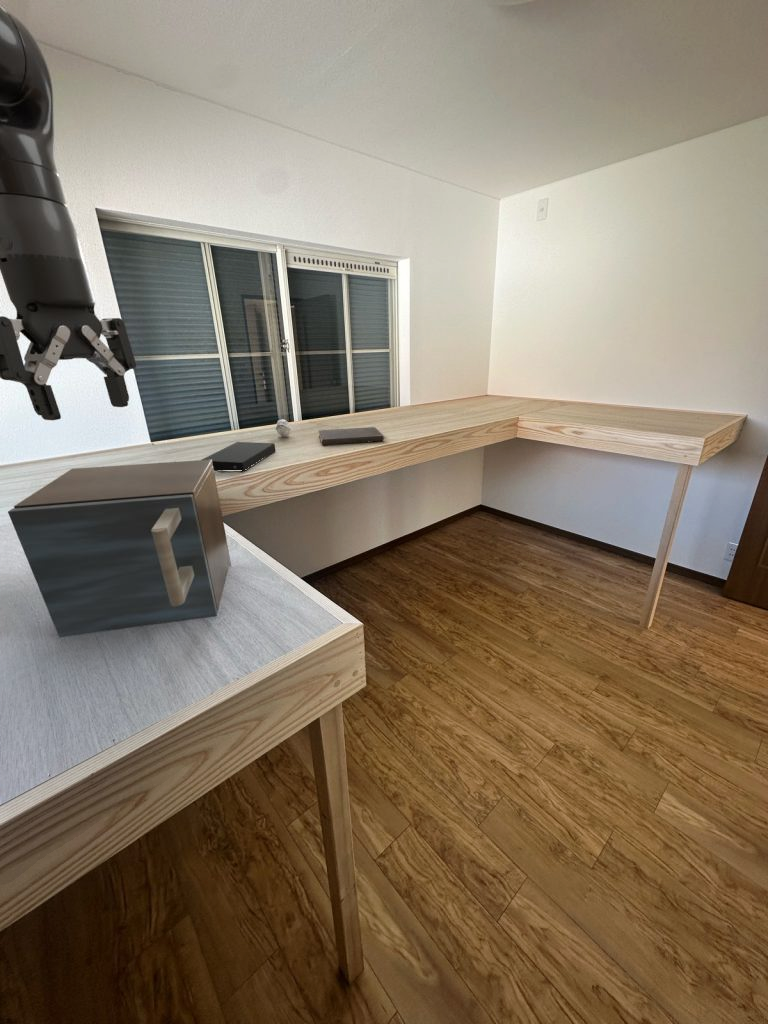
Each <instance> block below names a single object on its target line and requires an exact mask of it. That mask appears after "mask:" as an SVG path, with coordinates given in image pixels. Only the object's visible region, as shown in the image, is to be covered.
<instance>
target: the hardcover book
mask: <svg viewBox="0 0 768 1024" xmlns="http://www.w3.org/2000/svg"><path fill="white" fill-rule="evenodd" d="M317 432H318V434H319V435H318V437H319V440H320V443H321V446H322V445H323V446H333V445H332V444H338V445H347V444H346V443H353V444H356V443H355V442H368V441H383V440H384V439H385V437H384V434H382V432H381V431H380V430H379V429H378V428H377V427H375V426H368V427H367V426H366V427H353V428H352V427H350V428H335V429H332V428H331V429H318V431H317ZM383 442H384V441H383ZM368 443H369V442H368Z"/></svg>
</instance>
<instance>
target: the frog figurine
mask: <svg viewBox="0 0 768 1024" xmlns="http://www.w3.org/2000/svg"><path fill="white" fill-rule="evenodd" d="M275 431H276V432H277V434H278V435H279V436H280V437H283V438H285V437H288V436H290V434H291V431H292V426H291V423H290V422H288V420H285V419H284V418H282V419H280V420H277V422H276V424H275Z"/></svg>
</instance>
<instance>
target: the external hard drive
mask: <svg viewBox="0 0 768 1024" xmlns="http://www.w3.org/2000/svg"><path fill="white" fill-rule="evenodd" d="M275 452H276V444H275V443H274V442H254V441H253V442H250V441H236V442H234V443H232V444H230V445H228V446H226V447H223V448H222V449H220V450H218V451H216V452H213V453H212V454H210V455H207V456H206V457H204V458H202V459H201V460H212V463H213V468H214V470H242V471H244V470H245V469H247V468H248V467H250V466H251V465H253V464H255V463H256V462H258V461H259V460H261V459H262V458H264V457H266V456H268V455H269V456H271V455H273V454H274V453H275ZM270 454H271V455H270ZM269 456H268V457H269ZM266 458H267V457H266ZM264 459H265V458H264ZM261 461H262V460H261ZM258 463H259V462H258ZM255 465H256V464H255ZM250 468H251V467H250ZM247 470H248V469H247ZM244 472H245V471H244Z"/></svg>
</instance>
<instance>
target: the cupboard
mask: <svg viewBox="0 0 768 1024" xmlns="http://www.w3.org/2000/svg"><path fill="white" fill-rule="evenodd" d="M188 494H193V497H194V501H195V506H196V511H197V516H198V521H199V525H200V530H201V535H202V540H203V544H204V549H205V554H206V559H207V564H208V568H209V573H210V578H211V583H212V587H213V592H214V597H215V602H216V607H217V611H219V609H220V605H221V600H222V597H223V592H224V587H225V585H226V579H227V575H228V571H229V568H230V567H232V561H231V556H230V551H229V550H230V549H229V545H228V540H227V535H226V529H225V523H224V518H223V512H222V507H221V501H220V497H219V491H218V486H217V480H216V474H215V471H214V468H213V463H212V460H202V459H197V460H185V461H184V460H183V461H168V462H153V463H137V464H123V465H108V466H93V467H92V466H91V467H77V468H71V469H69V470H68V471H66V472H65V473H63V474H62V475H60V476H58V477H56V478H55V479H53V480H52V481H50V482H49V483H47V484H46V485H45V486H43V487H41V488H40V489H39V490H36V491H35V492H34V493H32V494H31V495H29V496H27V497H26V498H24V499H23V500H21V501H19V502H18V503H16V504H14V506H13V508H25V507H38V506H50V505H63V504H75V503H88V502H100V501H113V500H125V499H138V498H150V497H163V496H175V495H188Z"/></svg>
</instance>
